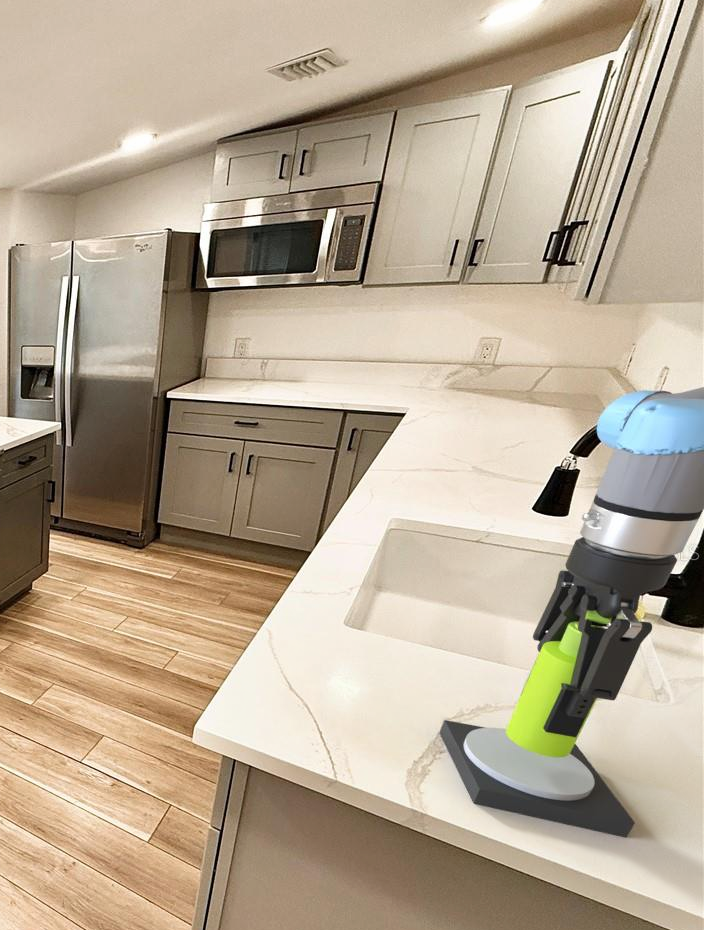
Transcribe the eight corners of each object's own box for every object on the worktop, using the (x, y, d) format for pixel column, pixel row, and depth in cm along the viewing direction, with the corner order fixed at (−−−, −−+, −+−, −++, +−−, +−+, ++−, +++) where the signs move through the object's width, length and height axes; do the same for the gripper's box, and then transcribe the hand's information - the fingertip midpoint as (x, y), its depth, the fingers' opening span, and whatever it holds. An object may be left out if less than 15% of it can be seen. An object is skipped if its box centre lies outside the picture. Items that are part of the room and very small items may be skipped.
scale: (568, 757, 83) (578, 737, 81) (626, 837, 71) (639, 816, 70) (439, 732, 88) (446, 714, 87) (473, 803, 77) (482, 783, 75)
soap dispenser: (501, 745, 77) (562, 607, 69) (508, 719, 81) (566, 586, 73) (567, 769, 73) (640, 625, 65) (571, 740, 77) (640, 601, 69)
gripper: (541, 512, 76) (480, 668, 85) (627, 577, 60) (540, 759, 69) (625, 518, 73) (551, 679, 82) (738, 589, 57) (631, 776, 66)
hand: (546, 715), depth 76 cm, fingers closed on soap dispenser, 6 cm apart
